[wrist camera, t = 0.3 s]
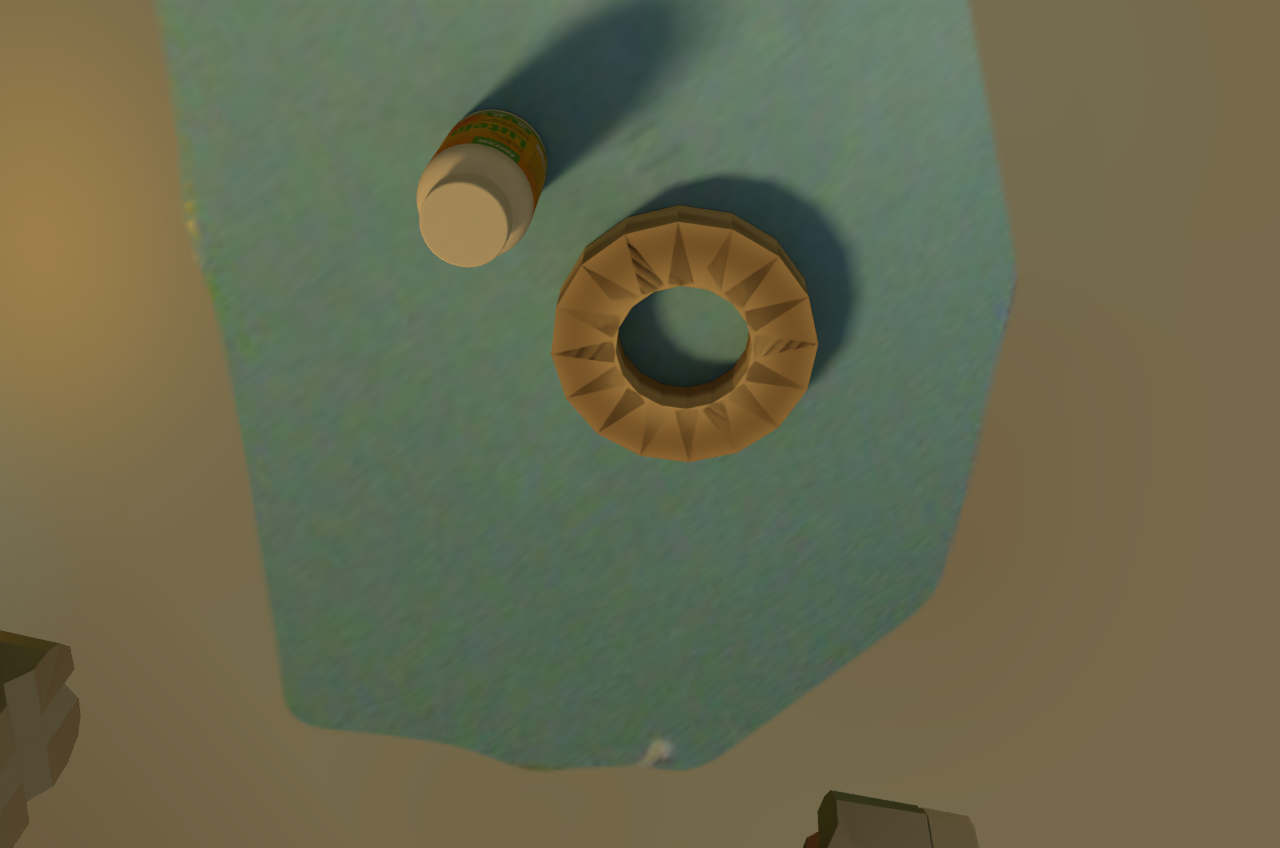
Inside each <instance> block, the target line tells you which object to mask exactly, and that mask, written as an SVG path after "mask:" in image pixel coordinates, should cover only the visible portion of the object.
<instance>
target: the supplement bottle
mask: <svg viewBox="0 0 1280 848" xmlns="http://www.w3.org/2000/svg"><path fill="white" fill-rule="evenodd" d="M547 167H548V162H547V155H546V150H545V147H544V145H543V143H542V140H541V139H540V137H539V135H538V134H537V132H536V131H535V130H534V129H533V128H532V126H531V125H530V124H528V123H527V122H526V121H525V120H523V119H522V118H520V117H518V116H517V115H514V114H512V113H510V112H506V111H502V110H482V111H478V112H474V113H472V114H470V115H468V116H466V117H465V118H463V119H462V120H461V121H459V122H458V123H457V124H456V125H455V126H454V128H453V129H452V130H451V131H450V133H449V134H448V136H447V137H446V139H445V140H444V142H443V143H442V145H441V146H440V148H439V149H438V151H437V152H436V154H435V155H434V156H433V158H432V159H431V161H430V162H429V164H428V165H427V167H426V168H425V170H424V172H423V174H422V176H421V178H420V181H419V184H418V189H417V207H418V212H419V215H420V217H419V223H420V230H421V233H422V236H423V238H424V240H425V242H426V244H427V245H428V247H429V248H430V249H431V251H432V252H433V253H434V254H435V255H437V256H438V257H439V258H441V259H442V260H444V261H446V262H448V263H450V264H453V265H456V266H461V267H476V266H480V265H483V264H486V263H488V262H490V261H491V260H493V259H494V258H495V257H496V256H498V255H500V254H502V253H504V252H506V251H508V250H509V249H511V248H512V247H513V246H515V245H516V244H517V243H518V242H519V241H520V240H521V238H522V237H523V235H524V234H525V232H526V231H527V229H528V227H529V225H530V222H531V220H532V217H533V214H534V211H535V208H536V205H537V203H538V200H539V197H540V194H541V192H542V189H543V186H544V183H545V180H546V175H547Z"/></svg>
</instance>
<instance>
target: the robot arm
mask: <svg viewBox="0 0 1280 848" xmlns="http://www.w3.org/2000/svg"><path fill="white" fill-rule="evenodd" d="M73 670H74V664H73V659H72V655H71V649H70V646H66V645H63V644H60V643H56V642H51V641H46V640H42V639H37V638H33V637H28V636H24V635H19V634H15V633H10V632H6V631H0V848H13V847H14V845H15V843H16V842H17V841H18V839H19V838H20V836H21V834H22V833H23V831H24V830H25V828H26V827H27V825H28V824H29V817H28V811H27V804H26V802H27V801H28V800H30V799H32V798H34V797H35V796H37V795H38V794H41V793H42V792H44V791H46V790H48V789H49V788H51V787H53V786H54V784H55V783H56V781H57V779H58V778H59V776H60V774H61V773H62V771H63V770H64V768H65V766H66V765H67V763H68V761H69V758H70V756H71V753H72V750H73V748H74V745H75V742H76V740H77V737H78V732H79V723H80V707H79V699H78V697H77V696H76V695H75V694H74V693H73V692H72V691H71V690H70V689H69V688H68V687H67V686H66V685H65V684H64V683H65V682H66V680H67V678H68V677H69V676H70V674H71V673H72V672H73ZM803 848H979V846H978V841H977V837H976V832H975V827H974V825H973V823H972V822H971V820H970V818H969V817H968V816H963V815H959V814H954V813H948V812H943V811H938V810H933V809H928V808H919V807H918V806H916V805H910V804H905V803H899V802H894V801H888V800H882V799H877V798H871V797H866V796H860V795H855V794H849V793H843V792H837V791H832V790H830V791H829V792H828V793H827V794H826V795H825V796H824V798H823V800H822V803H821V805H820V807H819V810H818V832H816V833H815V834H813V835H811V836H809V837H807V838H806V841H805V843H804V846H803Z"/></svg>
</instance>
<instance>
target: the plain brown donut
mask: <svg viewBox="0 0 1280 848" xmlns="http://www.w3.org/2000/svg"><path fill="white" fill-rule="evenodd" d="M677 286H687V287H694V288H701V289H708V290H710V291H712V292H714V293H715V294H717V295H719V296H721V297H722V298H724V299H726V300H728V301H730V302H731V303H732V304H733V305H734V306H735V308H736V309H737V310H738V312H739V313H740V314H741V315H742V317H743V318H744V319H745V321H746V322H747V324H748V329H749V336H748V341H747V345H746V350H745V351H744V353H743V354H742V355H741V357H740V358H739V360H738V361H737V362H736V364H735V365H734V367H733V368H732V369H731V370H729V371H728V372H726V373H725V374H723V375H722V376H720V377H719V378H717V379H715V380H714V381H712V382H710V383H705V384H701V385H696V386H691V387H679V386H672V385H665V384H661V383H659V382H657V381H655V380H653V379H651V378H649V377H648V376H646V375H644V374H642V373H640V372H639V371H638V369H637V368H636V367H635V366H634V365H633V364H632V362H631V361H630V360H629V359H628V358H627V356H626V355H625V354H624V350H623V347H622V344H621V340H620V337H619V334H618V330H619V327H620V325H621V324H622V322H623V321H624V319H625V317H626V316H627V314H628V313H629V311H630V310H631V308H632V307H633V306H634V305H636V304H637V303H638V302H640V301H641V300H643V299H644V298H646V297H647V296H649V295H650V294H652V293H653V292H655V291H660V290H664V289H668V288H673V287H677ZM817 347H818V340H817V335H816V330H815V325H814V320H813V315H812V310H811V306H810V301H809V296H808V291H807V287H806V283H805V279H804V277H803V276H802V274H801V273H800V272H799V270H798V269H797V268H796V266H795V265H794V263H793V262H792V261H791V259H790V258H789V257H788V255H787V254H786V253H785V251H784V250H783V248H782V247H781V246H780V244H779V243H778V242H777V240H776V239H775V238H773V237H771V236H770V235H768V234H766V233H765V232H763V231H761V230H760V229H758V228H756V227H754V226H753V225H751V224H749V223H748V222H746V221H744V220H742V219H741V218H739V217H737V216H736V215H734V214H732V213H729V212H722V211H715V210H708V209H701V208H694V207H687V206H680V205H677V206H673V207H669V208H665V209H661V210H656V211H652V212H648V213H644V214H640V215H636V216H631V217H627V218H626V219H624V220H623V221H621V222H620V223H619V224H617V225H616V226H614V227H613V228H612V229H610V230H609V231H608V232H606V233H605V234H603V235H602V236H601V237H599V238H598V239H596V240H595V241H594V242H592V243H591V244H589V245H588V246H587V247H585V249H584V251H583V252H582V254H581V256H580V258H579V259H578V261H577V263H576V264H575V266H574V268H573V269H572V271H571V273H570V274H569V276H568V278H567V279H566V281H565V283H564V284H563V286H562V288H561V291H560V295H559V299H558V303H557V307H556V316H555V325H554V334H553V344H552V353H551V355H552V358H553V361H554V364H555V367H556V370H557V373H558V376H559V379H560V382H561V385H562V388H563V391H564V393H565V396H566V399H567V400H568V401H569V402H570V403H571V404H572V406H573V407H574V408H575V409H576V410H577V411H578V412H579V413H580V414H581V416H582V417H583V418H584V419H585V420H586V421H587V422H588V423H589V425H590V426H591V427H592V428H593V429H594V430H595V431H596V432H597V434H599V435H601V436H603V437H605V438H607V439H609V440H611V441H613V442H615V443H617V444H619V445H621V446H623V447H625V448H626V449H628V450H630V451H632V452H634V453H636V454H638V455H640V456H647V457H654V458H662V459H669V460H676V461H684V462H692V461H697V460H702V459H707V458H712V457H717V456H722V455H727V454H732V453H737V452H739V451H740V450H742V449H744V448H745V447H747V446H749V445H750V444H752V443H754V442H755V441H757V440H759V439H760V438H762V437H763V436H765V435H767V434H768V433H770V432H772V431H773V430H775V429H777V428H778V427H779V426H780V425H781V423H782V422H783V421H784V420H785V418H786V417H787V416H788V414H789V413H790V412H791V410H792V409H793V408H794V406H795V405H796V404H797V402H798V401H799V400H800V399H801V397H802V396H803V395H804V393H805V392H806V391H807V388H808V384H809V380H810V376H811V372H812V368H813V364H814V360H815V356H816V351H817Z"/></svg>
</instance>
